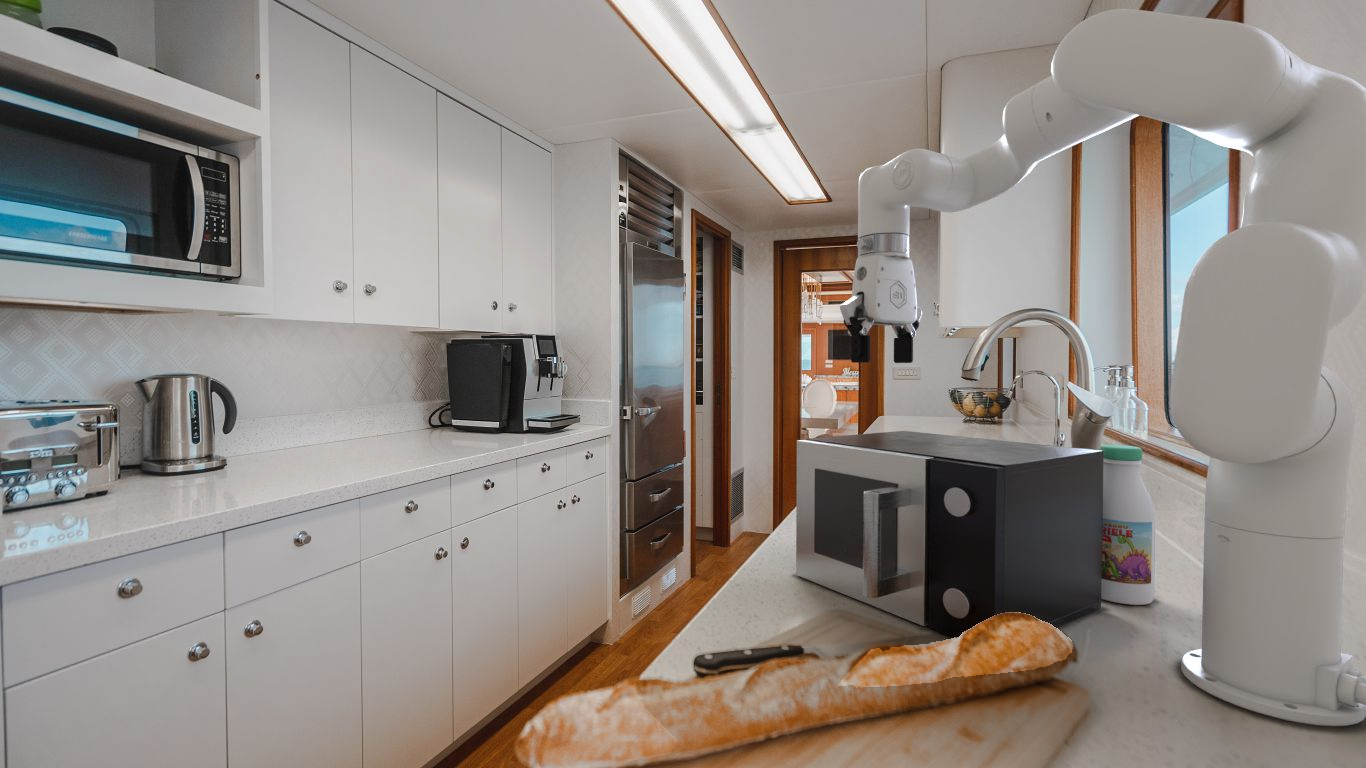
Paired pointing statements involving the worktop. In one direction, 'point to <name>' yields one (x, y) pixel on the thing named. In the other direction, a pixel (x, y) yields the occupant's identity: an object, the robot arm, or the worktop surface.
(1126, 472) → the milk bottle
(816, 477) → the microwave door
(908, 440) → the microwave
